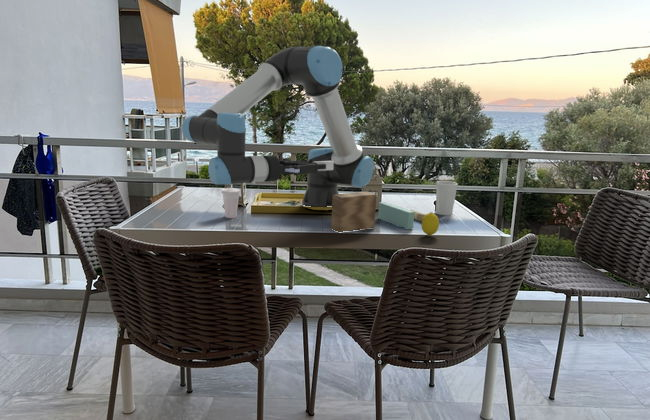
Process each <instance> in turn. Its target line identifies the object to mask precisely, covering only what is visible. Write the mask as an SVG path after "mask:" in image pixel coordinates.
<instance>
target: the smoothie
mask: <svg viewBox="0 0 650 420" xmlns="http://www.w3.org/2000/svg"><path fill="white" fill-rule="evenodd" d="M221 194H222V200H223V201H222V202H223V209H224V215H225V218H226V219H234V218H236V217H237V213H238V206H239V198H240V194H241V189H239V188H237V187H236V188H235V187H233V184H230V187H225V188H222V189H221Z"/></svg>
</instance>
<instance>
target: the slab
mask: <svg viewBox="0 0 650 420" xmlns="http://www.w3.org/2000/svg"><path fill="white" fill-rule="evenodd" d="M376 208H377V194H376V193H373V192H370V191H359V192H358V191H357V192H346V193H345V192H344V193H339V194H334V195H333V201H332V211H331V223H330V228H331V229H333V230H335V231H338V232H343V231H353V230H360V229H367V228H374V229H375V223H376V222H375V220H376ZM331 229H330V230H331Z"/></svg>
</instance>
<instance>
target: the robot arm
mask: <svg viewBox="0 0 650 420" xmlns="http://www.w3.org/2000/svg"><path fill="white" fill-rule="evenodd" d="M257 68H258V69H257V71H256V72H255V73H253V74H252V75H251V76H249V77H248V78H246V79H244V80H243V82H241V83H240V84H239V85H237V86H236V87H235V88H233V89H232V90H231V91H229V92H228V93H227V94H225V95H224V96H223V97H221V99H219V100H218V101H216V102H215V103H214V104H212V105H211V106H210V107H209V108H207V109H206V110H204V111H203V112H202V113H200V115H190V116H187V117H186V118H184V120H183V122H182V124H181V125H182V126H181V133H182V135H183V137H184V138H185V139H186V140H187V141H189V142H192V143H195V144H201V145H202V144H203V145H209V146H215V147H217V156H215V157H212V158H210V159H209V161H208V166H207V168H208V172H207V173H208V175H209V179H210V180H211V181H210V182H212V183H213V184H214V185H227V186H231V184H232V185H240V184H252V185H256V184H257V183H263V182H266V183H267V182H268V183H269V182H270V183H271V182H276V181H278V180H279V179H280V176H281V175H283V176H290V175H294V176H299V175H305V174H307V185H306V186H307V187H306V189H305V192H304V194H303V198H302V200H301V201H302V202H301V204H303V205H305V206H311V207H327V206H332V201H333V195H334V194H340V193H339V189H338V185H343V186H347V187H350V188H351V187H352V188H365V186H367V185H368V184H369V183H370V181H371V179H372V177H373V175H374V169H375V166H374V165H375V164H374V163H375V162H374V160H373V158H372V157H371V156H369V155H365V154H364V151H363V147H361V146H360V145H359V144H357V143H356V141H355V138H354V134H353V131H352V129H351V124H350V123H349V120H348V117H347V113H346V110H345V107H344V105H343V102H342V101H343V100H342V99H341V96H340V93H339V90H338V88H339V87H340V83H341V82H340V81H341V78H342V77H343V76H342V75H343V71H342V70H343V62H342V58H341V57H340V55H339V53H338V52H337V51H336V50H335V49H334V48H331V47H329V46H323V45H314V46H291V47H287V48H284V49H282V50H280V51H279V52H277V53H275V54H273V55H272V56H270V57H269V58H268V59H266V60H265V61H263V62H262V63H260V65H259V66H258V67H257ZM288 85H300V86H301V85H302V86H303V89H304V92H305V94H306V96H308V97H310V98H312V100H313V102H314V105H315V107H316V110H317V113H318V116H319V119H320V121H321V123H322V127H323V129H324V132H325V134H326V137H327V139H328V143H329V145H330V147H324V148H323V147H322V148H312V149H310V150H309V151H308V158H307V160H283V159H282V160H280V159H279V158H278V156H276V155H273V154H272V155H248V156H246V130H247V127H246V117H245V115H244V114H245V113H246V112H248V111H249V110H251V109H252V108H253V107H254V106H255V105H256V104H258V103H259V102H260V101H262V100H263V99H264V98H265V97H267V96H268V95H269V94H270V93H271V92H273V91H275V92H276V91H279V90H281V88H283V87H284V86H288Z"/></svg>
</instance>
